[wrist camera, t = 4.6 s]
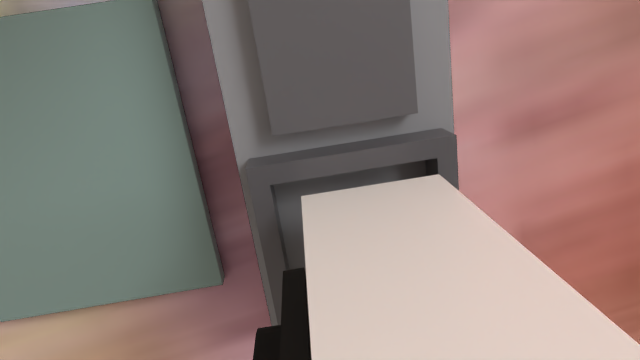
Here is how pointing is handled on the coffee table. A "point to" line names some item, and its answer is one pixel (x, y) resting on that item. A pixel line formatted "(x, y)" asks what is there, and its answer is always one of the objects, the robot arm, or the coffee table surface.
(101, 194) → the mat
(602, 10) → the coffee table surface
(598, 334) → the block
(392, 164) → the power strip
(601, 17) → the coffee table surface
